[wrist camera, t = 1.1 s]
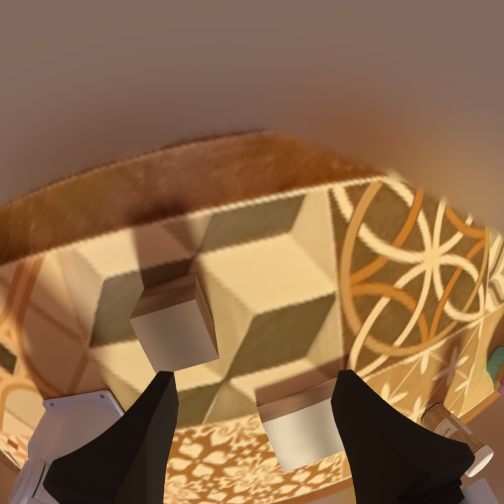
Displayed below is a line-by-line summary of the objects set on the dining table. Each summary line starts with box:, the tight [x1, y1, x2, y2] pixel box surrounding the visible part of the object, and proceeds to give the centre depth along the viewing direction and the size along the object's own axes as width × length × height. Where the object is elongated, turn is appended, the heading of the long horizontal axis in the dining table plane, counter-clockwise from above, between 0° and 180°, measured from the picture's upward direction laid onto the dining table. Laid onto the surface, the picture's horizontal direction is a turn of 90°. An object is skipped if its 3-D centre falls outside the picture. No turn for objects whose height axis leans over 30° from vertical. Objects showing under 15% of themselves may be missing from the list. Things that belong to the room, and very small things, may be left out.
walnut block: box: [129, 273, 219, 374], centre depth 21 cm, size 4×4×6 cm
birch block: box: [257, 377, 345, 473], centre depth 28 cm, size 10×10×3 cm
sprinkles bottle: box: [421, 403, 493, 477], centre depth 27 cm, size 5×5×13 cm
